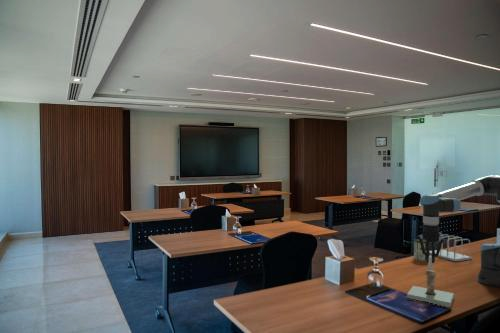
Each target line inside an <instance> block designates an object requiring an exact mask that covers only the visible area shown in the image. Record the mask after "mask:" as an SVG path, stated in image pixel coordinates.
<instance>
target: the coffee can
mask: <svg viewBox="0 0 500 333" xmlns="http://www.w3.org/2000/svg"><path fill="white" fill-rule="evenodd" d="M423 243H424V247H425V251H426V240H425V239H424V238H423ZM413 259H414V260H415V261H419V262H420V261H421V262H427V261H426V255H424V254H423V253H422V249H421V245H420V241H419V239H418V238H414V239H413Z"/></svg>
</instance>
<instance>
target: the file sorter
mask: <svg viewBox="0 0 500 333" xmlns="http://www.w3.org/2000/svg"><path fill="white" fill-rule="evenodd" d="M439 234H440V237H442V238H444V239H445V238H447V240H446V249H444V248H443V247H444V246H443V245H444V244H443V243H444V241H443V242H442V246H441V249H440V252H439V255H438V256H436V257H438V258H442V259H445V260H448V261H452V262H455V263H456V262H462V261H463V262H464V261H467V260H468V261H469V260H472V256H471V241H470V239H468V238H462V237H461V236H457V237H456V236H455V235H449V234H447V233H446V234H443V233H442V232H439ZM450 240H454V242H453V251H450ZM460 241H461V253H458V252H457V242H460ZM463 241H468V255H465V254H464V253H463V252H464V250H463V248H464V247H463V246H464V245H463V244H464V243H463ZM436 252H437V249H435V254H436ZM429 256H432V250H430V255H429Z"/></svg>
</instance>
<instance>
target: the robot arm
mask: <svg viewBox="0 0 500 333" xmlns="http://www.w3.org/2000/svg"><path fill="white" fill-rule="evenodd" d="M484 195H487V196H488V195H489V196H490V195H491V196H496V198H495V199H496V201H497V202H498V203H500V174H491V175H485V176H484V177H483V176H482V177H479V178H477V179H473V180H471V182H470V183H469V182H468V183H467V184H463V185H461V186H456V187H453V188H451V189H448V190H447V189H446V190H444V191H441V192H438V193H434V194H425V195H424V194H423V195H422V196H421V197H420V200H419V203H420V205H421V207H422V209H423V210H422V223H423V224H422V233H421V234H420V235H417V238H416V239H419V241H420V245H421V249H422V253H423V254H424V255H426V261H425V262H426V263H428V270H433V264H435V262H436V260H435V259H436V257H437V256H438V255H439V252H440V249H442V242H443V243H444V242H445V238H442V236H440V235H441V234H440V225H439V224H440V213H441V214H443V213H457V212H459V211H460V209H461V202H460V201H462V200H465V199H469V198H471V197H475V196H477V197H480V196H484ZM423 239H425V240H426V251H425V247H424V243H423ZM437 241H439V243H438V246H437V249H436V242H437ZM430 243H431V244H430ZM430 245H431V246H430ZM430 248H431V250H430ZM435 250H437V252H436V254H435ZM430 251H432V255H430ZM476 279H477V282H479V283H481V284H482V285H483V284H484V285H486V286H491V287H500V243H483V244H481V247H480V270H479V272H478V275H477V278H476Z"/></svg>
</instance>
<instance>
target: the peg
mask: <svg viewBox="0 0 500 333" xmlns="http://www.w3.org/2000/svg"><path fill="white" fill-rule="evenodd" d="M436 274H437V273H436V270H433V269H426V270H425V277H426V288H427V295H432V296H434V290H435V278H436Z"/></svg>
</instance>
